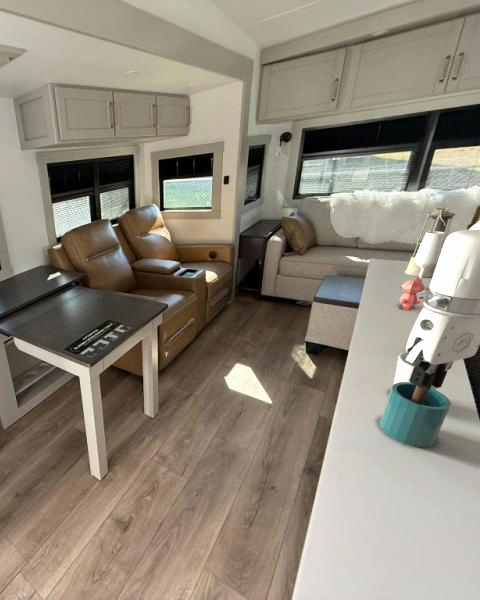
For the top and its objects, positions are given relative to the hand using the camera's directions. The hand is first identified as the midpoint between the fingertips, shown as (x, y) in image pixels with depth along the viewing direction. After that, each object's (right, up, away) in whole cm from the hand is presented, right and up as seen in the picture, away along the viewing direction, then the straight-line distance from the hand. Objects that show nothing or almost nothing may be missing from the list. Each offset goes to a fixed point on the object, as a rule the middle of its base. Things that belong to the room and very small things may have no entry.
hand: (424, 384), depth 63 cm
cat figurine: (+54, +14, +55) cm, 79 cm away
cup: (+12, -8, +14) cm, 20 cm away
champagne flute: (+71, +21, +68) cm, 100 cm away
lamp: (+87, +28, +81) cm, 122 cm away
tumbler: (+2, -13, +6) cm, 14 cm away
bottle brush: (+1, -11, +4) cm, 12 cm away
